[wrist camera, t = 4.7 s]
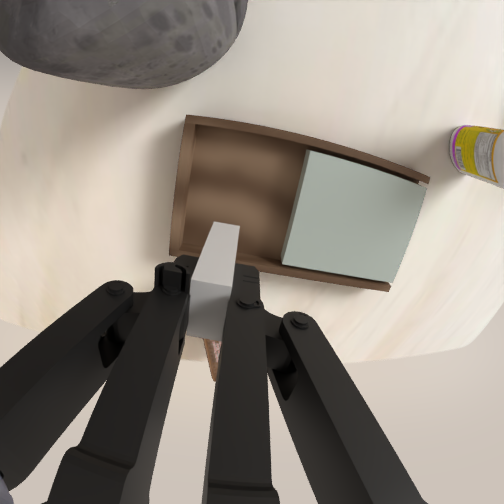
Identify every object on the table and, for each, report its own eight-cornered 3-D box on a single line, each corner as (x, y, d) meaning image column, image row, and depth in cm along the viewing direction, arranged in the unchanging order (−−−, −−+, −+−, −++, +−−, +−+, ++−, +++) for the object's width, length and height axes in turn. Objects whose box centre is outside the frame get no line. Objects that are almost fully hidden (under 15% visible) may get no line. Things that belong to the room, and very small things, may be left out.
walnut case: (192, 116, 26) (186, 114, 23) (416, 172, 28) (430, 177, 25) (175, 244, 32) (168, 255, 29) (379, 279, 34) (388, 291, 31)
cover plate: (306, 149, 26) (310, 150, 24) (418, 184, 27) (427, 188, 26) (280, 255, 31) (282, 264, 29) (386, 274, 32) (392, 282, 30)
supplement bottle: (484, 141, 25) (552, 160, 13) (470, 182, 28) (537, 212, 16) (455, 114, 24) (529, 122, 12) (440, 157, 27) (514, 181, 15)
